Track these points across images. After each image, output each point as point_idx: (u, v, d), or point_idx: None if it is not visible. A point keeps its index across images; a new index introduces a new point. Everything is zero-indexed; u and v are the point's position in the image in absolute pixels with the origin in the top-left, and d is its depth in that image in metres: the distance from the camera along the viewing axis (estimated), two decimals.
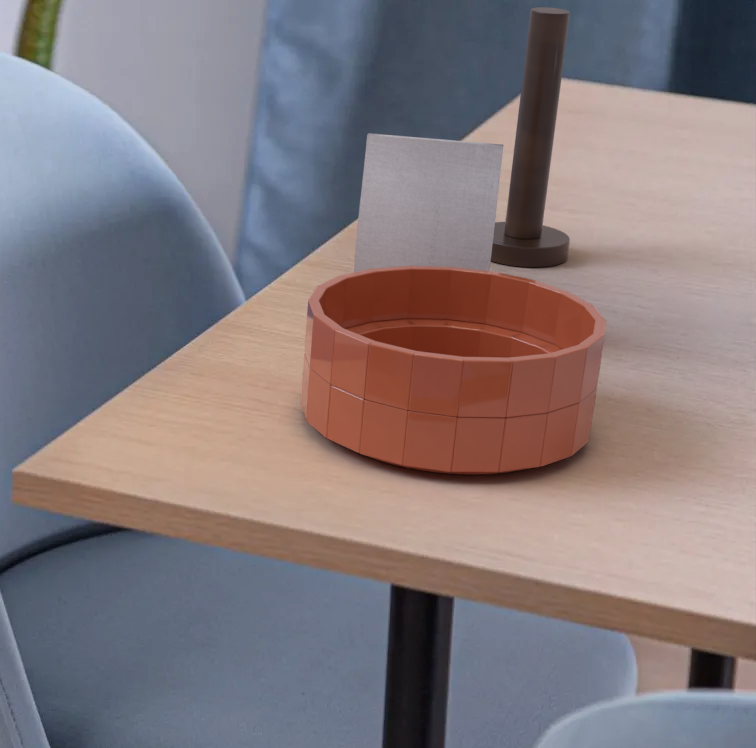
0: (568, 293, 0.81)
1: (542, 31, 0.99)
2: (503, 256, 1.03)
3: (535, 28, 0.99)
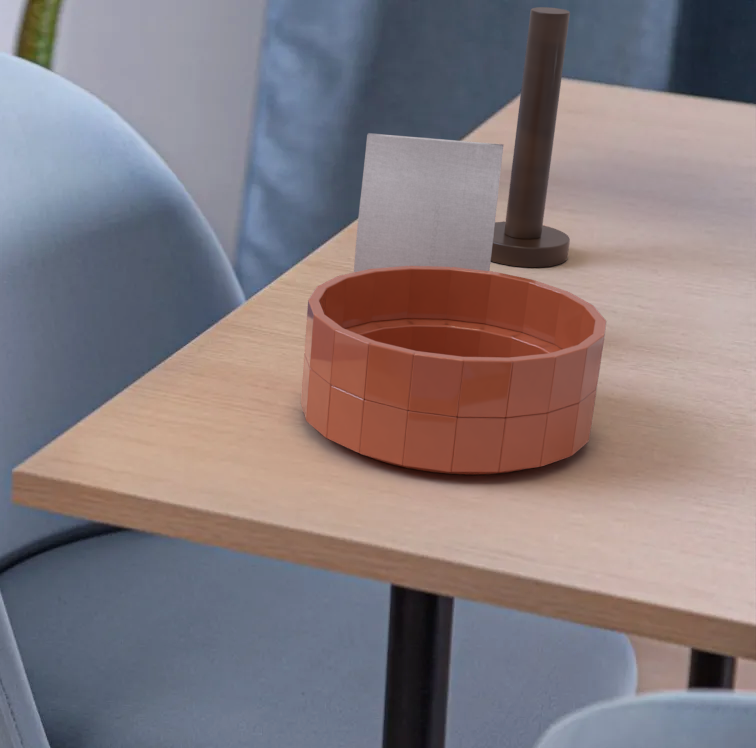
0: (568, 293, 0.81)
1: (542, 31, 0.99)
2: (503, 256, 1.03)
3: (535, 28, 0.99)
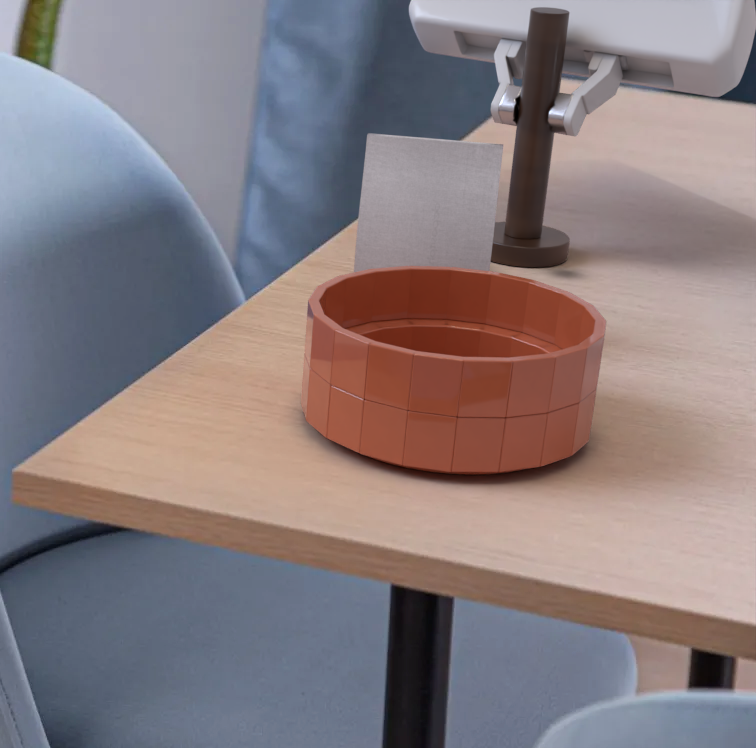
0: (568, 293, 0.81)
1: (542, 31, 0.99)
2: (503, 256, 1.03)
3: (535, 28, 0.99)
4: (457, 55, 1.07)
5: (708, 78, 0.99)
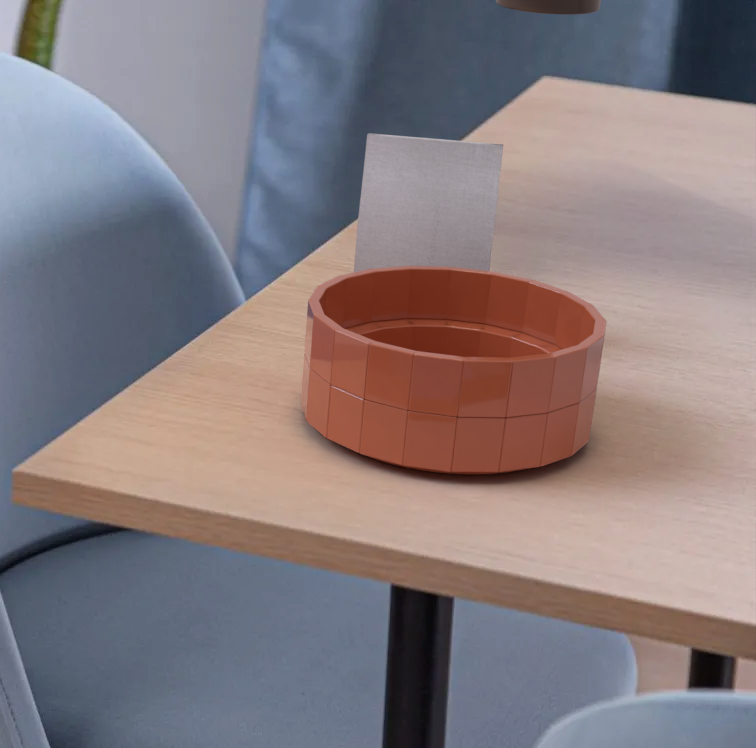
0: (568, 293, 0.81)
1: None
2: (529, 2, 0.93)
3: None
4: None
5: None
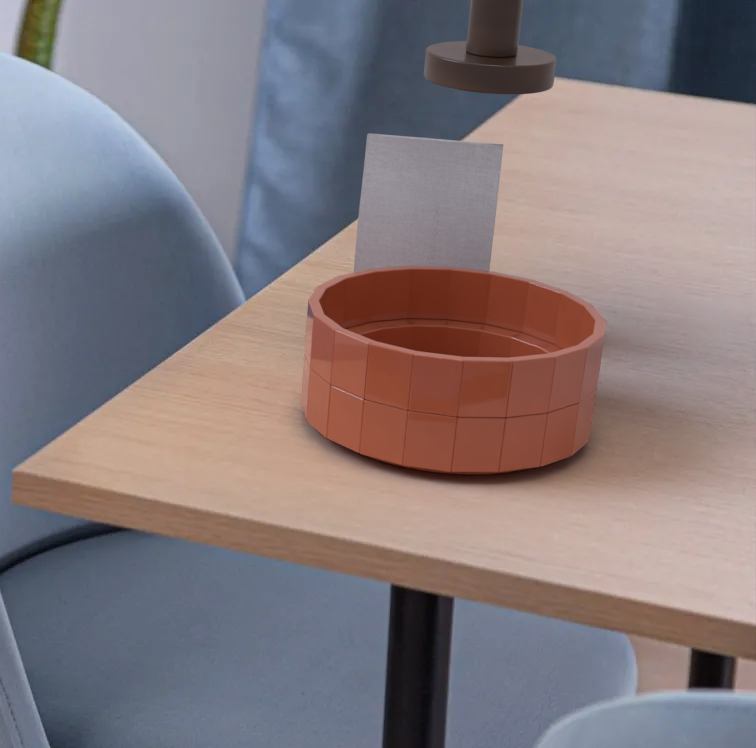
0: (568, 293, 0.81)
1: None
2: (463, 79, 0.74)
3: None
4: None
5: None
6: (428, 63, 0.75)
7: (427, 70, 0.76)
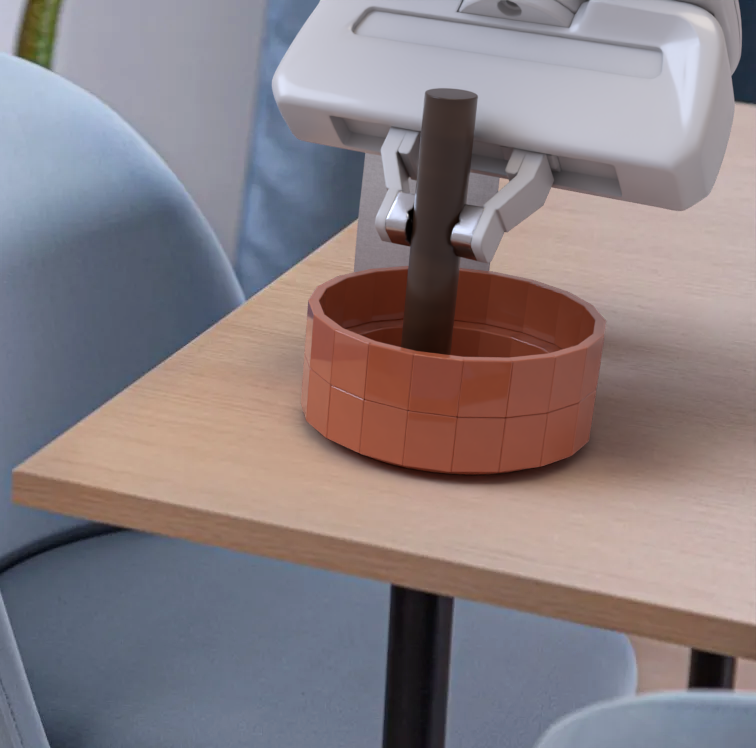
0: (568, 293, 0.81)
1: (440, 122, 0.72)
2: None
3: (430, 118, 0.73)
4: (337, 145, 0.81)
5: (667, 188, 0.72)
6: None
7: None
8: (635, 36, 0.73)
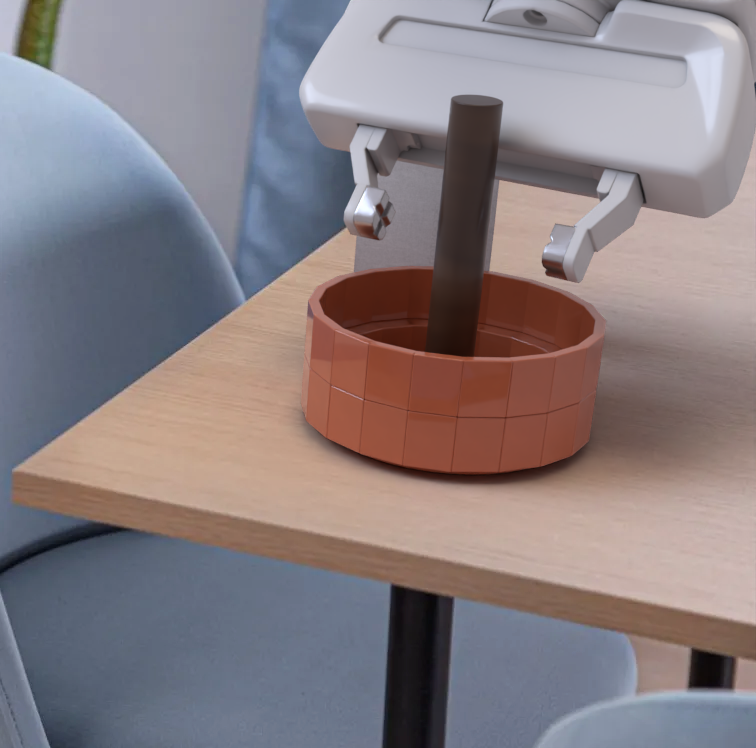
0: (568, 293, 0.81)
1: (466, 128, 0.73)
2: None
3: (456, 124, 0.74)
4: None
5: (692, 195, 0.73)
6: None
7: None
8: (660, 45, 0.74)
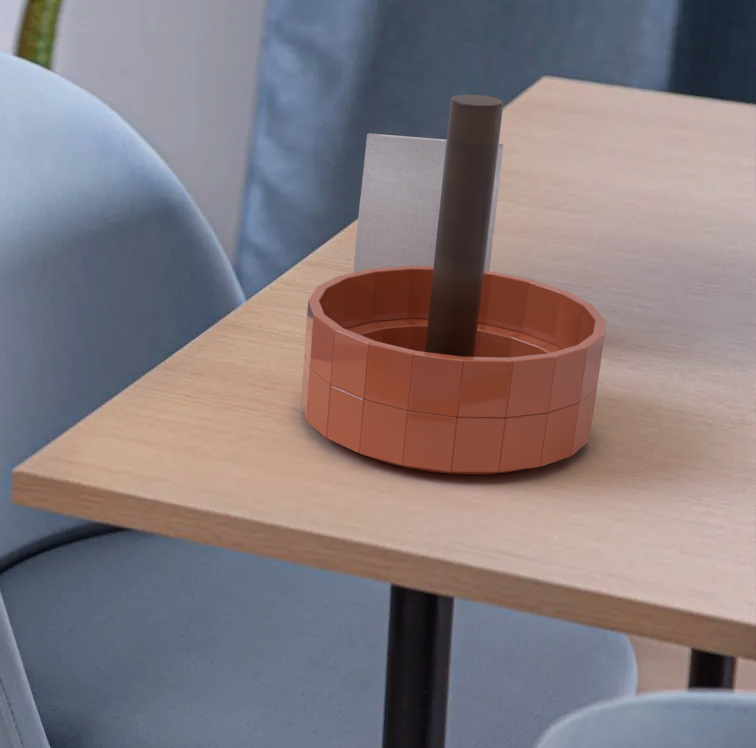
0: (568, 293, 0.81)
1: (466, 128, 0.73)
2: None
3: (456, 124, 0.74)
4: None
5: None
6: None
7: None
8: None
